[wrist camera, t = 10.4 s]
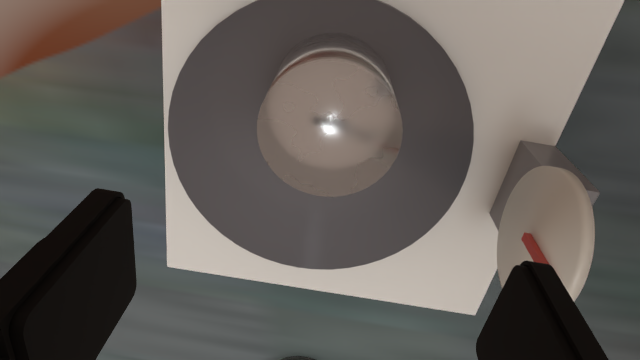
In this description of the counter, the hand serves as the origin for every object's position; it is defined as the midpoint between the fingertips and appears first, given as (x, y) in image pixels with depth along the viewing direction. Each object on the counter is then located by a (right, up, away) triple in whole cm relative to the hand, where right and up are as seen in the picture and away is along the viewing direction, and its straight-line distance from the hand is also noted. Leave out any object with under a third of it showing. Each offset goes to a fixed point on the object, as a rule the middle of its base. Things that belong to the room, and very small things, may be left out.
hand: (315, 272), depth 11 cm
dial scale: (+2, +5, +17) cm, 18 cm away
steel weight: (+1, +7, +12) cm, 14 cm away
